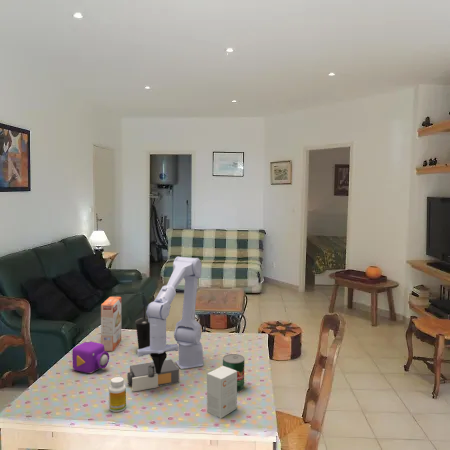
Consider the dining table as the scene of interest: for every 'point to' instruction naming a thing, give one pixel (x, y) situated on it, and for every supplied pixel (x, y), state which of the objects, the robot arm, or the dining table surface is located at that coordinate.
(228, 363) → the canned tomato
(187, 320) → the robot arm
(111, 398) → the supplement bottle
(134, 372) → the camera housing
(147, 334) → the drinking cup
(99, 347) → the toy camera
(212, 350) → the dining table surface
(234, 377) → the small box
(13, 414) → the dining table surface
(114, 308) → the cracker box
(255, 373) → the dining table surface
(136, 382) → the side door
